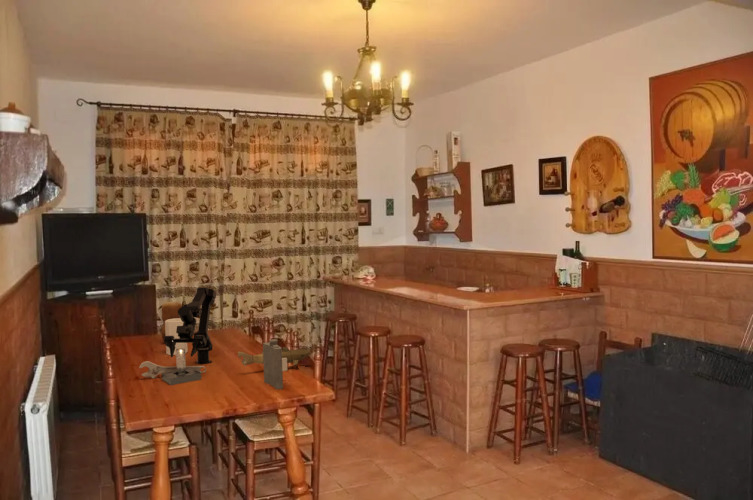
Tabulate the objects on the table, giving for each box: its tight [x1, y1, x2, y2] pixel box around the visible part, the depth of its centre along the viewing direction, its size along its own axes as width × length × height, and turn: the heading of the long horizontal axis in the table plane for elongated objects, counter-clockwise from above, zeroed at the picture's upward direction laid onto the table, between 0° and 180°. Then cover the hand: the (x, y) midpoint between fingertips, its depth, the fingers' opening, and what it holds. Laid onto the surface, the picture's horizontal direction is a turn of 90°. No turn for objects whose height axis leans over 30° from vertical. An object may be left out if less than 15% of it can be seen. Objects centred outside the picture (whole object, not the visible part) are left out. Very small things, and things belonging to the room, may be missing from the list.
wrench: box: [139, 360, 207, 379], centre depth 280 cm, size 8×2×30 cm
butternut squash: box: [161, 301, 183, 340], centre depth 354 cm, size 14×13×25 cm
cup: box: [165, 318, 188, 356], centre depth 327 cm, size 11×11×18 cm
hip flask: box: [262, 338, 284, 390], centre depth 260 cm, size 16×4×20 cm, turn 33°
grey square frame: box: [161, 368, 202, 386], centre depth 272 cm, size 12×14×3 cm
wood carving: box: [237, 346, 311, 372], centre depth 285 cm, size 9×35×11 cm, turn 114°
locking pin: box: [175, 348, 187, 375], centre depth 272 cm, size 4×4×14 cm
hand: (181, 356), depth 273 cm, fingers open, 9 cm apart
